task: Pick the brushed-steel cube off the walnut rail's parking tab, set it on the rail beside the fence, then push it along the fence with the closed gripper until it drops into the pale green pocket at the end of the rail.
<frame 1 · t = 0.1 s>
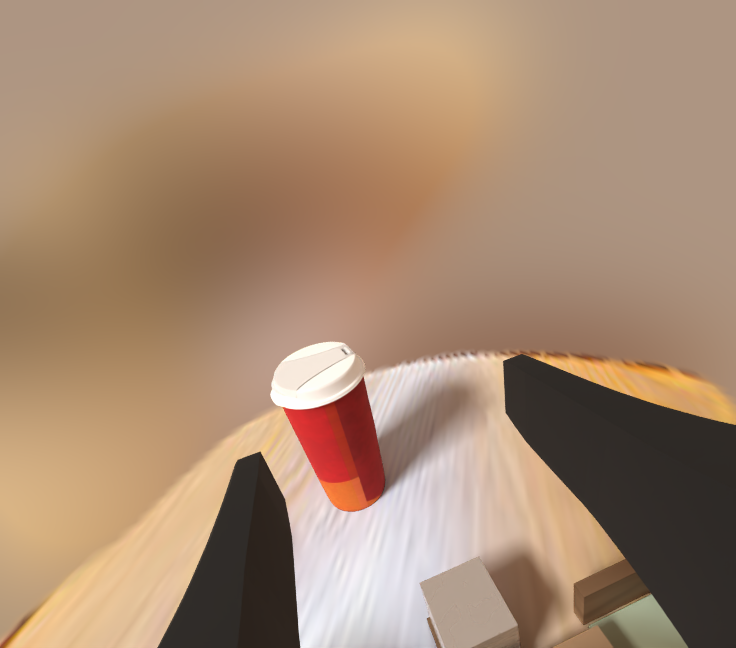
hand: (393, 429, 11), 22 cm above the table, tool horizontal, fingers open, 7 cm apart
paper cup: (356, 487, 37), on the table
steel cube: (473, 639, 24), point 1 cm above the table, touching walnut rail
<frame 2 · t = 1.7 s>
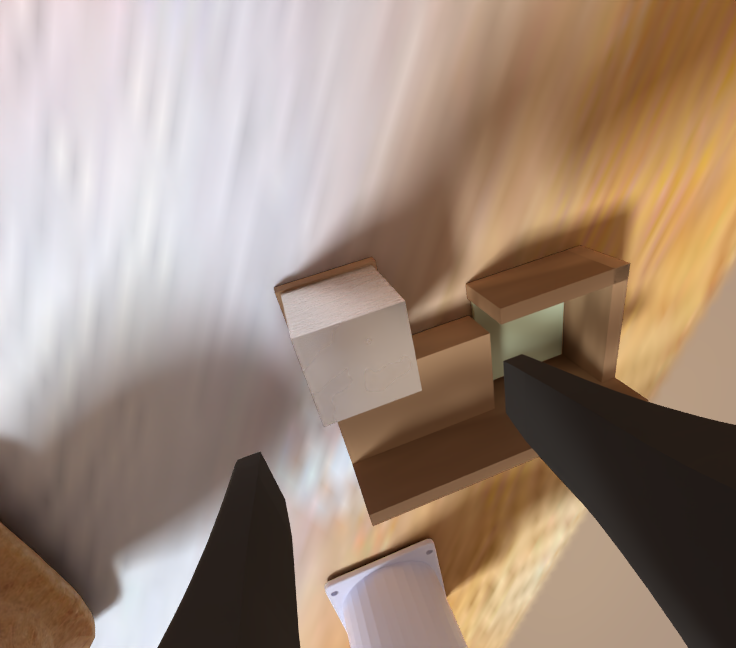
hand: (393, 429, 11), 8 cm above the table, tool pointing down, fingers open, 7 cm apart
walnut rail: (395, 381, 21), on the table
steel cube: (338, 319, 17), point 1 cm above the table, touching walnut rail
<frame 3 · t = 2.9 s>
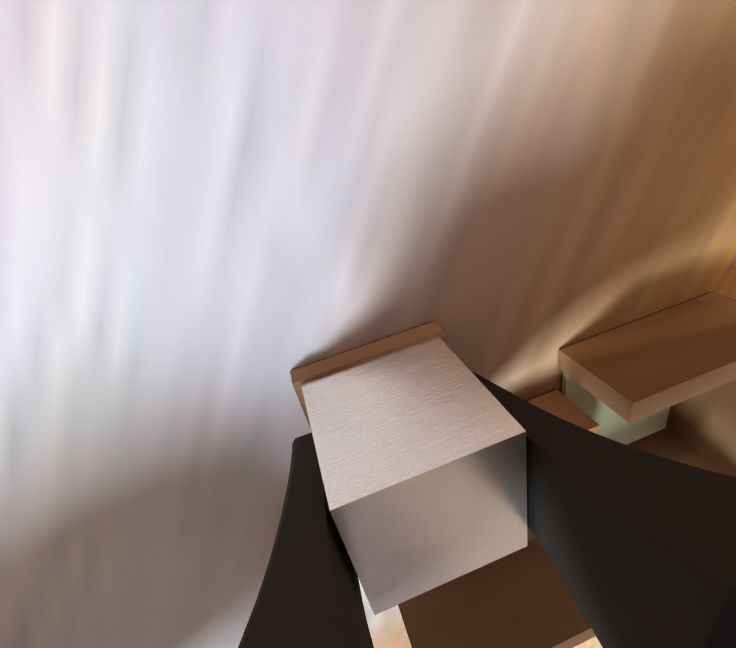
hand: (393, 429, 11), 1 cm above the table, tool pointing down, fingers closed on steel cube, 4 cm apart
walnut rail: (452, 476, 15), on the table
steel cube: (384, 411, 12), point 1 cm above the table, touching gripper, walnut rail
when the fingers open (4 cm above the table, at t = 5.1 s): steel cube moves 1 cm, point 2 cm above the table.
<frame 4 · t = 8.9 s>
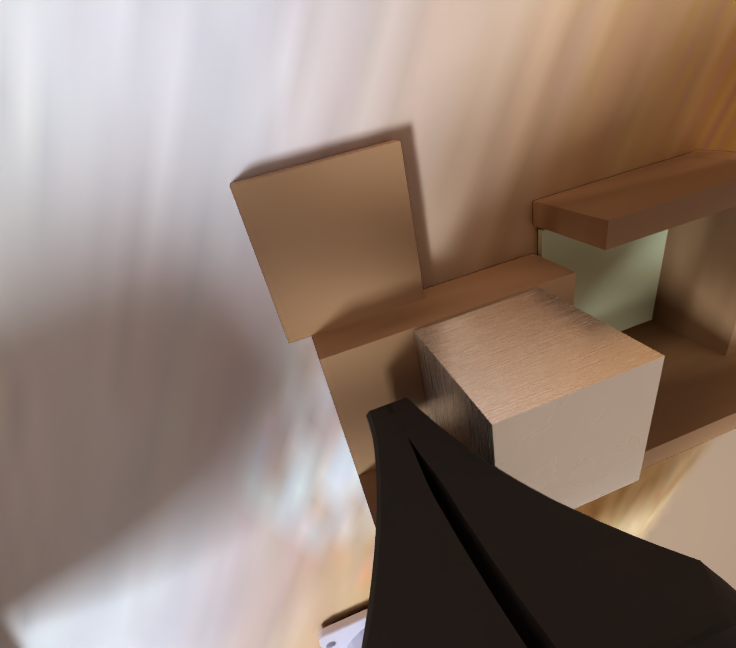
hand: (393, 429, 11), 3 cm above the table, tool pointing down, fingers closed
walnut rail: (421, 352, 14), on the table
steel cube: (482, 363, 12), point 2 cm above the table, touching gripper
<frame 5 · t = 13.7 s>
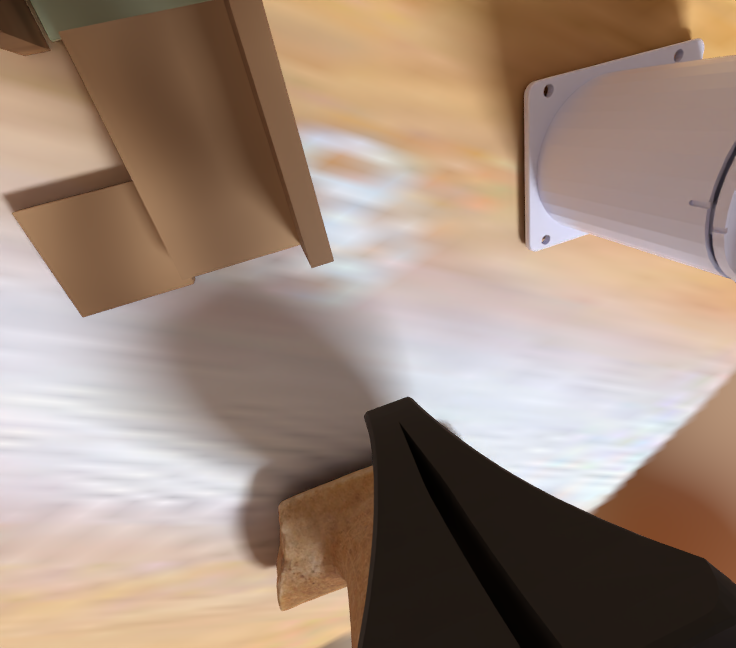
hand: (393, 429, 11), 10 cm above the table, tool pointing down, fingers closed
walnut rail: (209, 166, 16), on the table
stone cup: (370, 488, 27), on the table
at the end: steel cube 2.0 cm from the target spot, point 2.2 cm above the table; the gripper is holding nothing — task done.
